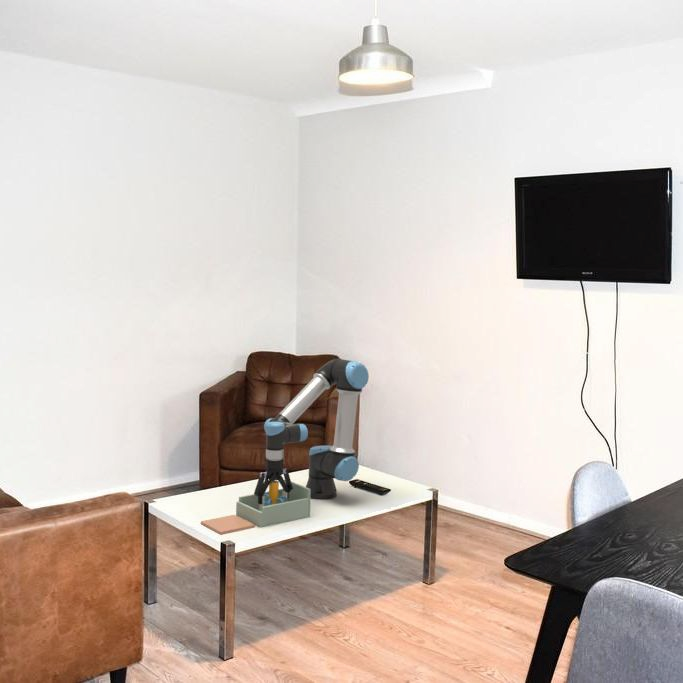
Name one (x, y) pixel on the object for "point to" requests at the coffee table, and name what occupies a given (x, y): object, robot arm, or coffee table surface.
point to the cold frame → (275, 507)
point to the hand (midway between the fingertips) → (273, 509)
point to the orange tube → (273, 494)
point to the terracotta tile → (227, 524)
